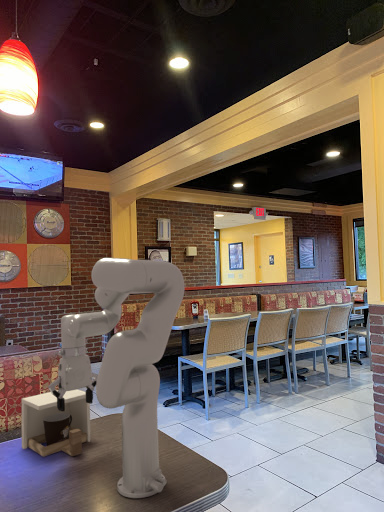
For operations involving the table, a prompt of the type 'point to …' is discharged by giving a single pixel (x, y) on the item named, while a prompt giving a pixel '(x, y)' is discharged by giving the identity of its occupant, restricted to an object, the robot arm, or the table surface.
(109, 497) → the table surface
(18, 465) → the table surface
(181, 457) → the table surface
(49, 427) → the coffee mug
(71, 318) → the robot arm
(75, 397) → the cream open box
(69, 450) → the wooden drawer
